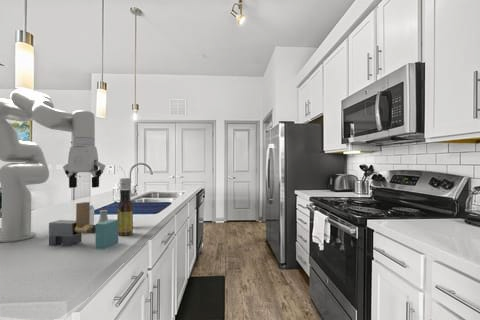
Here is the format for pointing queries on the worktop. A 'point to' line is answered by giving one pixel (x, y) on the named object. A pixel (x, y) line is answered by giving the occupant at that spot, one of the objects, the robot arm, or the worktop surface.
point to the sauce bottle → (125, 213)
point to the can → (91, 215)
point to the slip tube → (83, 219)
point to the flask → (103, 216)
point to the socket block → (106, 234)
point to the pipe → (124, 182)
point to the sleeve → (63, 233)
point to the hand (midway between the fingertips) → (84, 187)
